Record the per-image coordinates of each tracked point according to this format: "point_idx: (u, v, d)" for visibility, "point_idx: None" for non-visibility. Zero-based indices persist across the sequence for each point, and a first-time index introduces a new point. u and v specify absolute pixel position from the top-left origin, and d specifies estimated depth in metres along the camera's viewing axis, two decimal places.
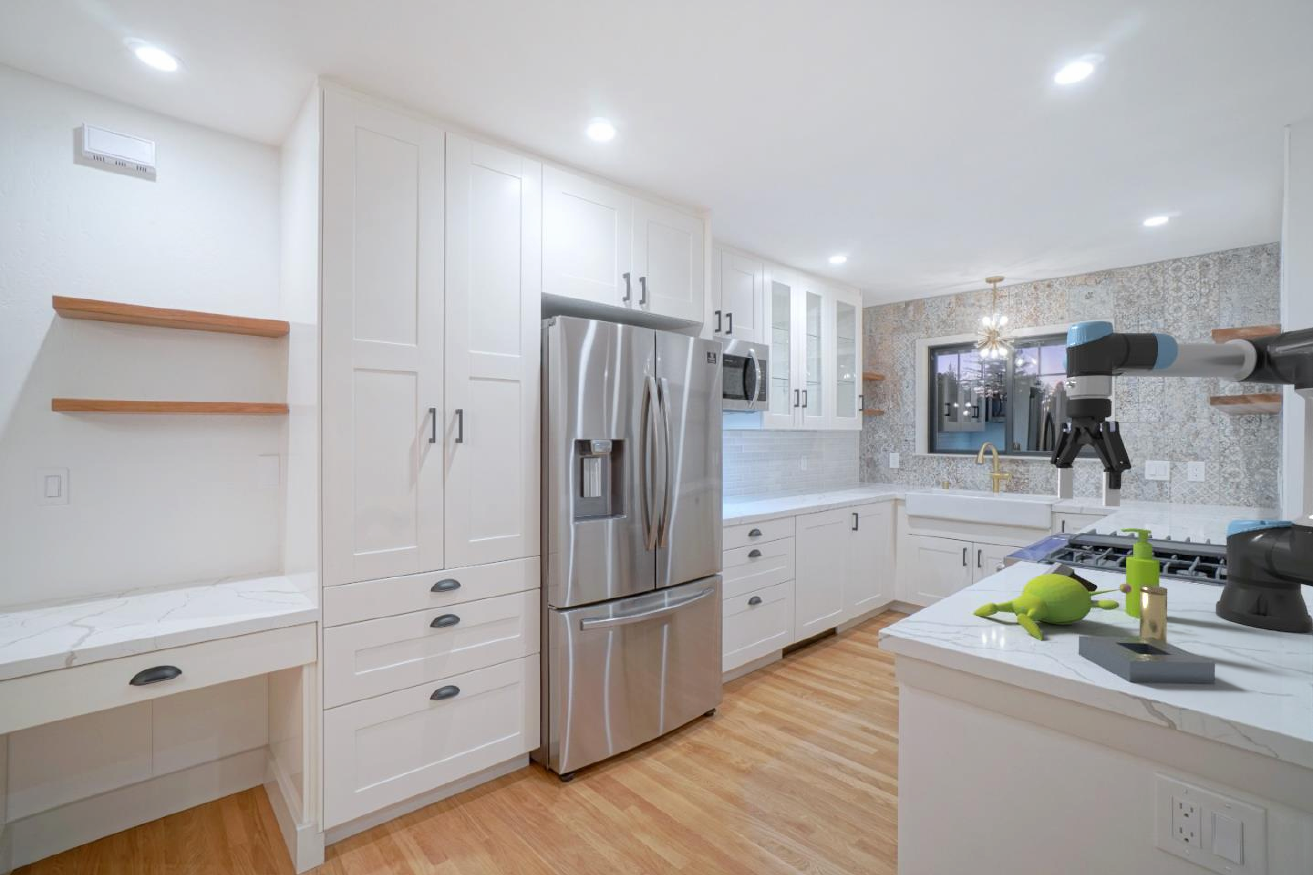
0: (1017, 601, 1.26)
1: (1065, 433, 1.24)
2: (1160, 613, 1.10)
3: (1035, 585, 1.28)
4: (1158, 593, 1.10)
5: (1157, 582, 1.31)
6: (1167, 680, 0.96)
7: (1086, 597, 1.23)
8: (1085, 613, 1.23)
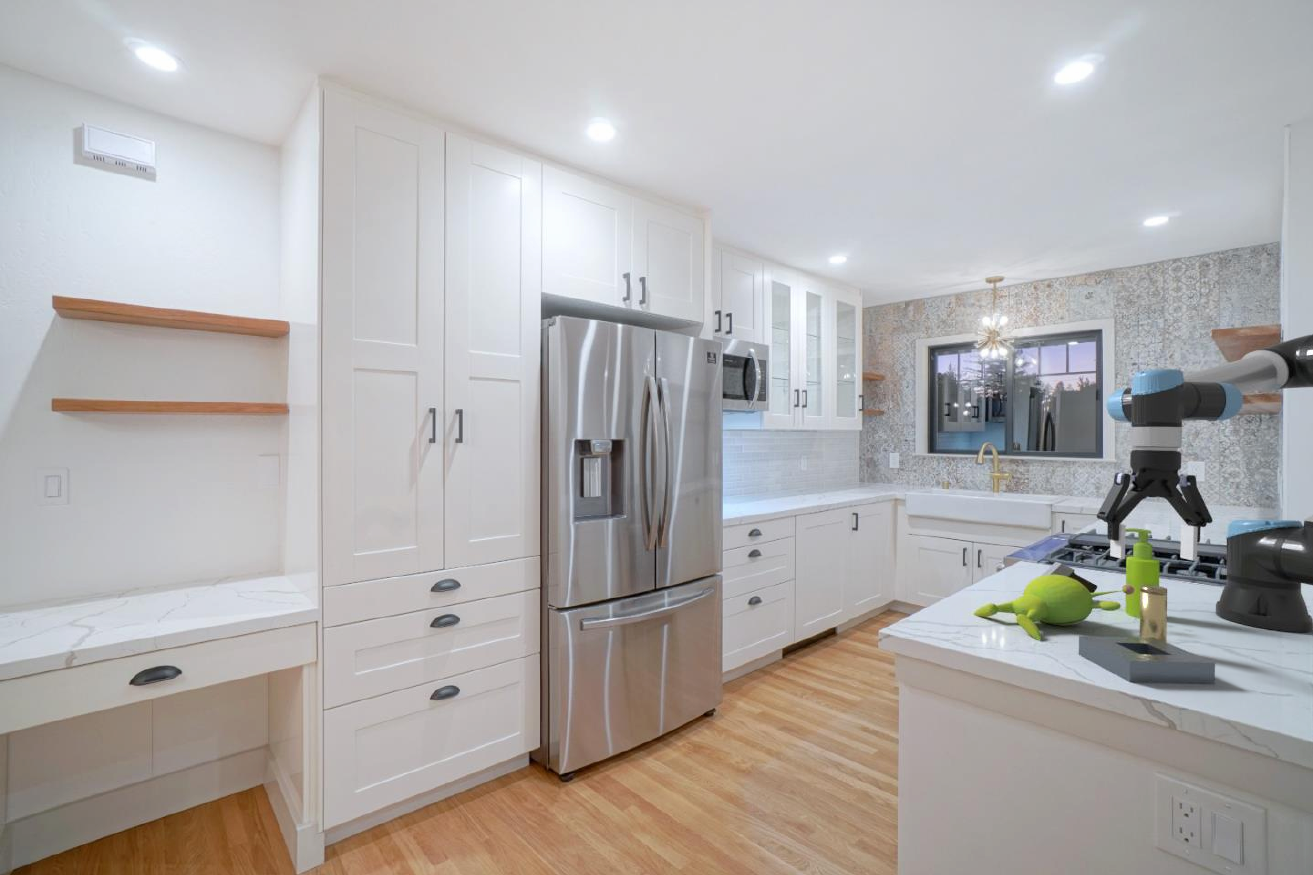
0: (1018, 601, 1.26)
1: (1181, 486, 1.13)
2: (1160, 613, 1.10)
3: (1036, 586, 1.27)
4: (1158, 593, 1.10)
5: (1157, 582, 1.31)
6: (1167, 680, 0.96)
7: (1087, 598, 1.22)
8: (1086, 614, 1.22)
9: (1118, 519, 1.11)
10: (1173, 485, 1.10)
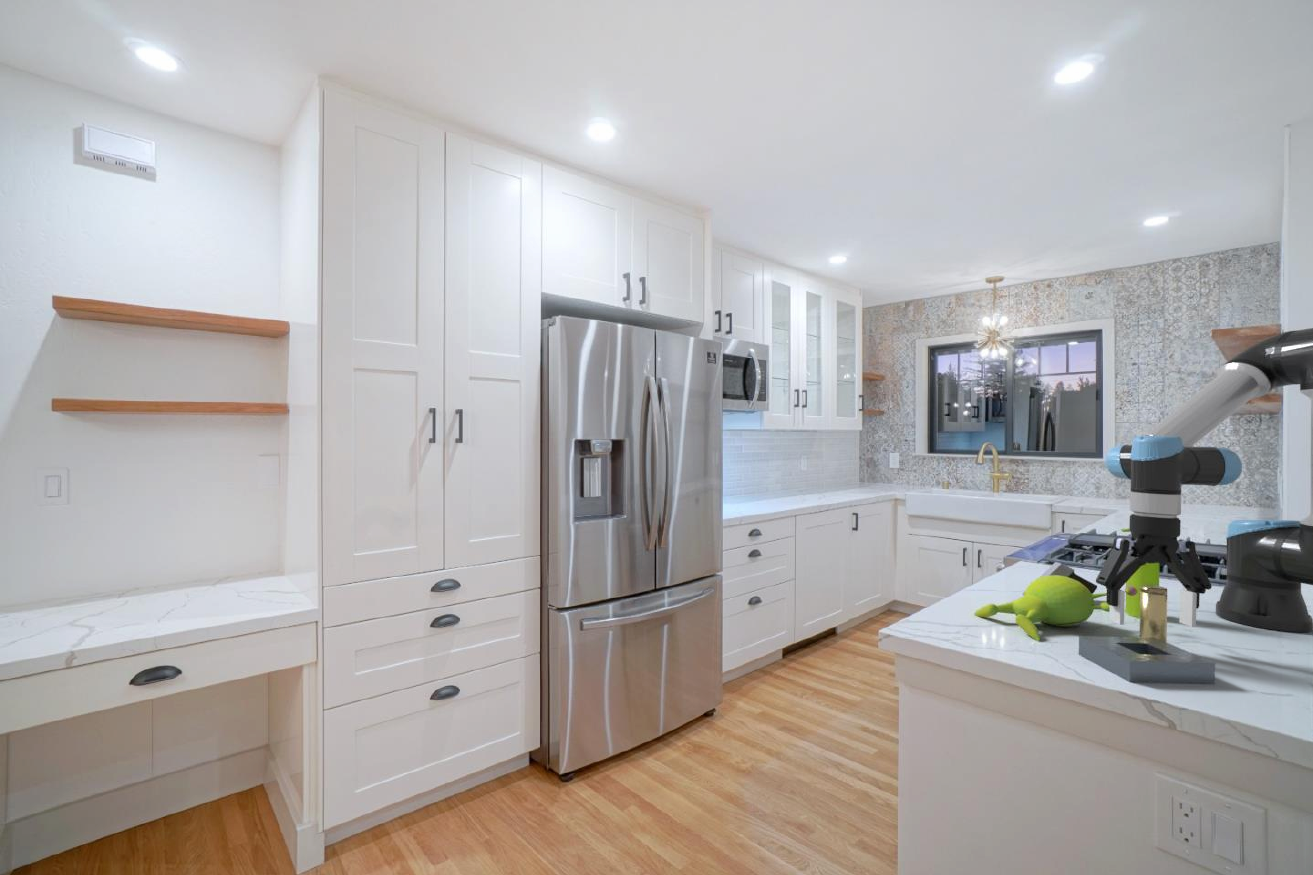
0: (1018, 602, 1.26)
1: (1180, 551, 1.13)
2: (1160, 613, 1.10)
3: (1037, 586, 1.27)
4: (1158, 593, 1.10)
5: (1157, 582, 1.31)
6: (1167, 680, 0.96)
7: (1088, 599, 1.21)
8: (1087, 615, 1.21)
9: (1117, 585, 1.11)
10: (1172, 552, 1.10)
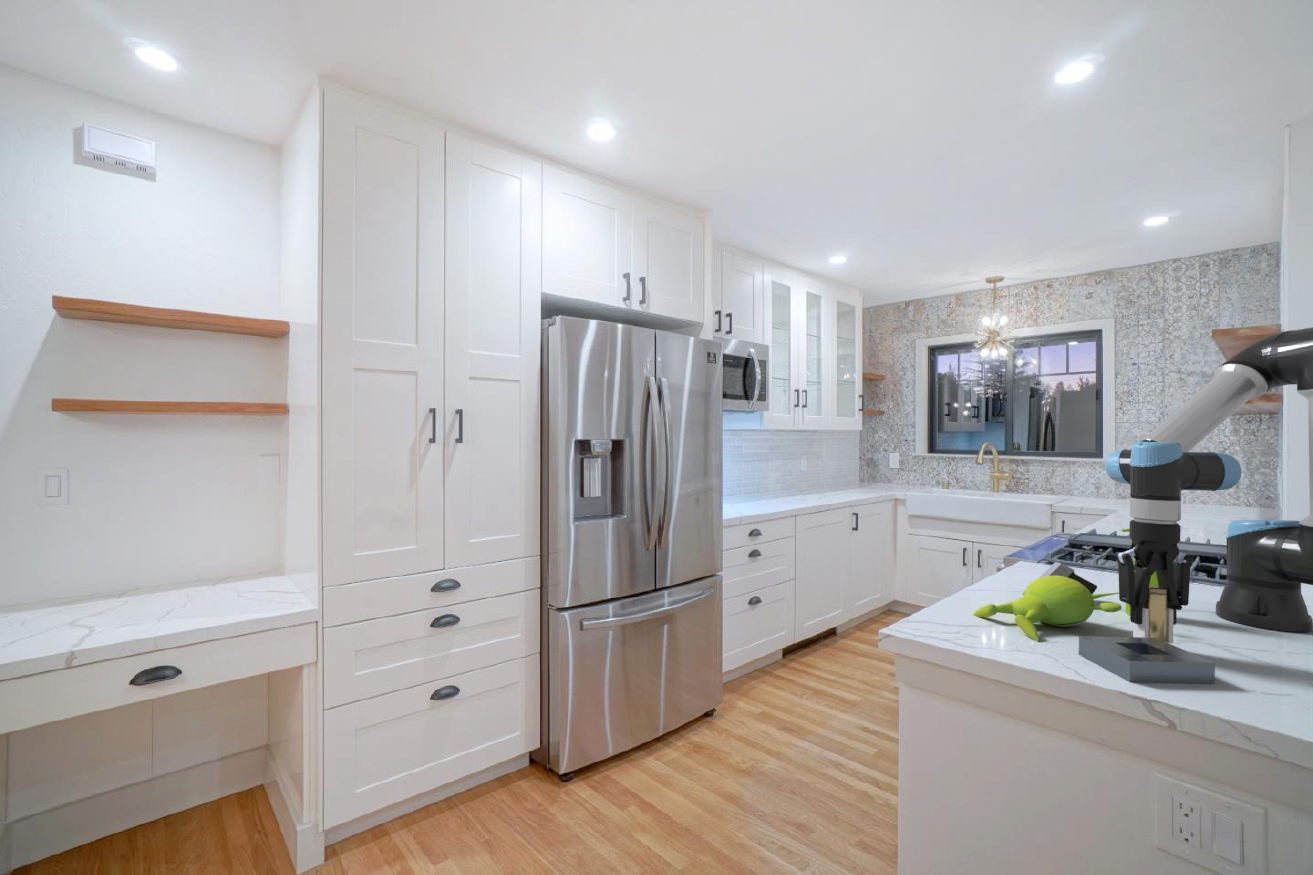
0: (1017, 602, 1.25)
1: (1175, 563, 1.13)
2: (1160, 613, 1.10)
3: (1036, 586, 1.26)
4: (1158, 593, 1.10)
5: (1157, 582, 1.31)
6: (1167, 680, 0.96)
7: (1087, 599, 1.21)
8: (1086, 615, 1.21)
9: (1140, 603, 1.11)
10: (1171, 559, 1.10)
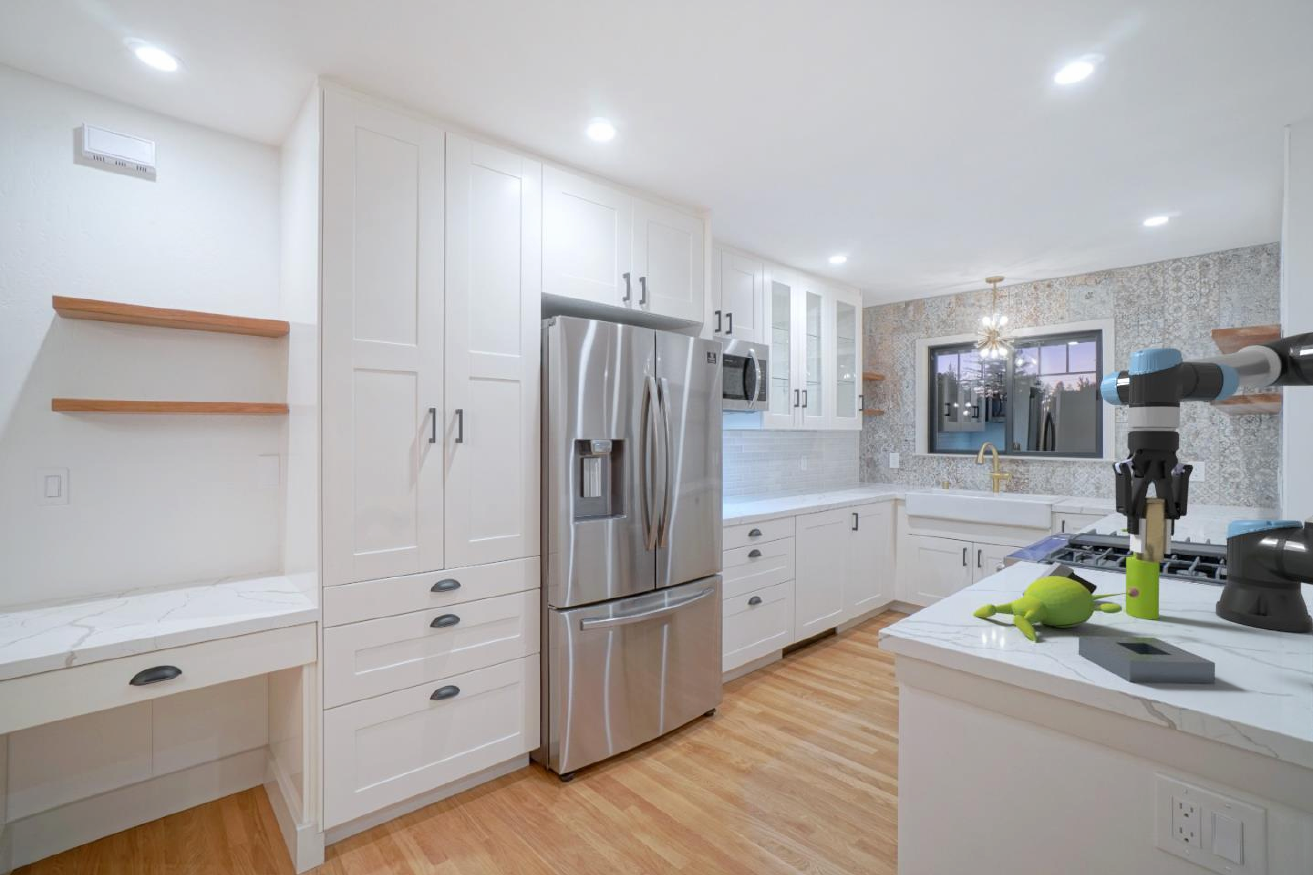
0: (1016, 603, 1.25)
1: (1174, 474, 1.11)
2: (1157, 522, 1.08)
3: (1036, 587, 1.26)
4: (1156, 502, 1.08)
5: (1157, 582, 1.31)
6: (1167, 680, 0.96)
7: (1087, 600, 1.20)
8: (1086, 616, 1.20)
9: (1137, 513, 1.09)
10: (1169, 468, 1.08)
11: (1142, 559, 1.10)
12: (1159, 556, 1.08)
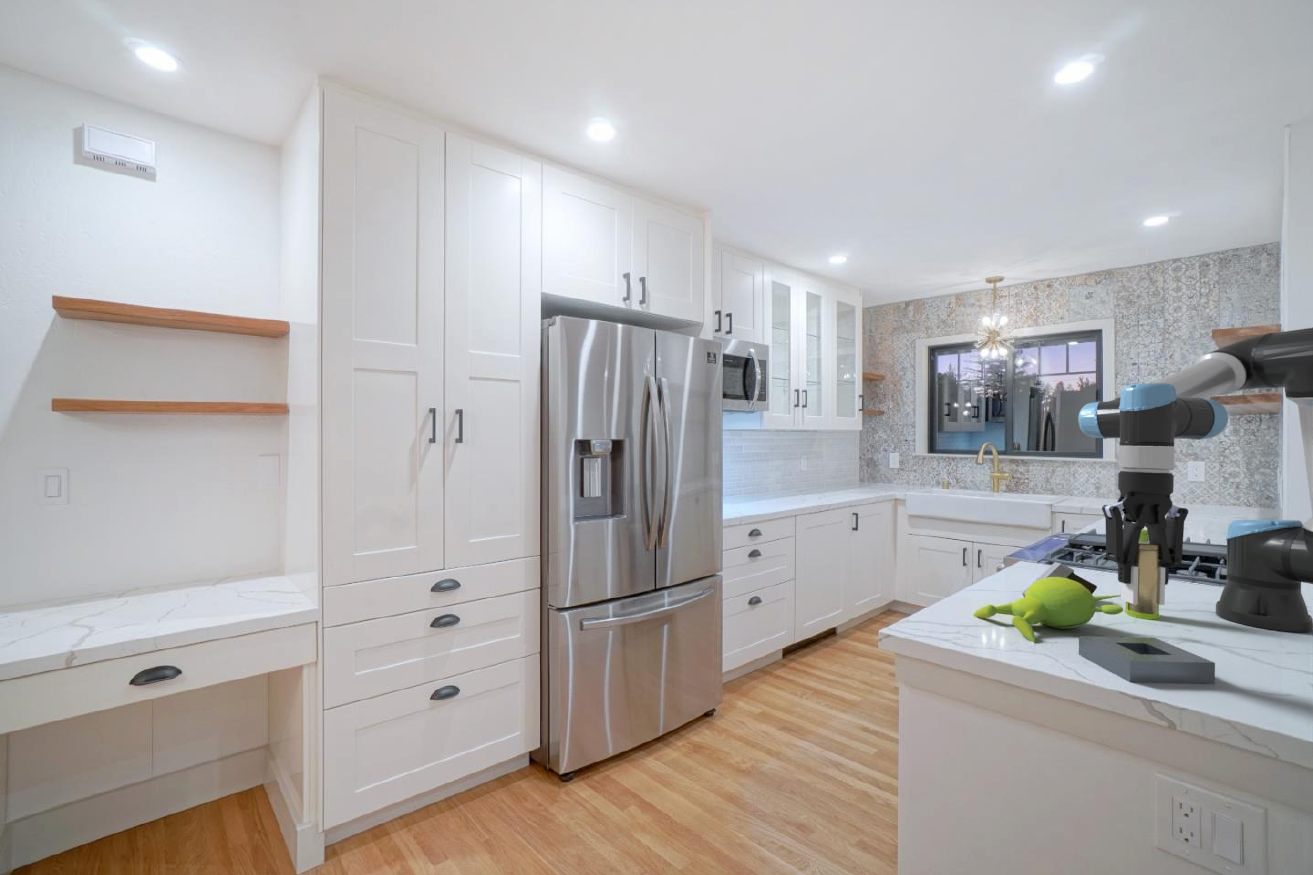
0: (1016, 603, 1.25)
1: (1168, 517, 1.03)
2: (1150, 570, 1.00)
3: (1036, 588, 1.25)
4: (1148, 549, 1.01)
5: None
6: (1167, 680, 0.96)
7: (1088, 601, 1.20)
8: (1087, 617, 1.19)
9: (1129, 561, 1.01)
10: (1163, 512, 1.00)
11: (1134, 610, 1.02)
12: (1152, 607, 1.00)
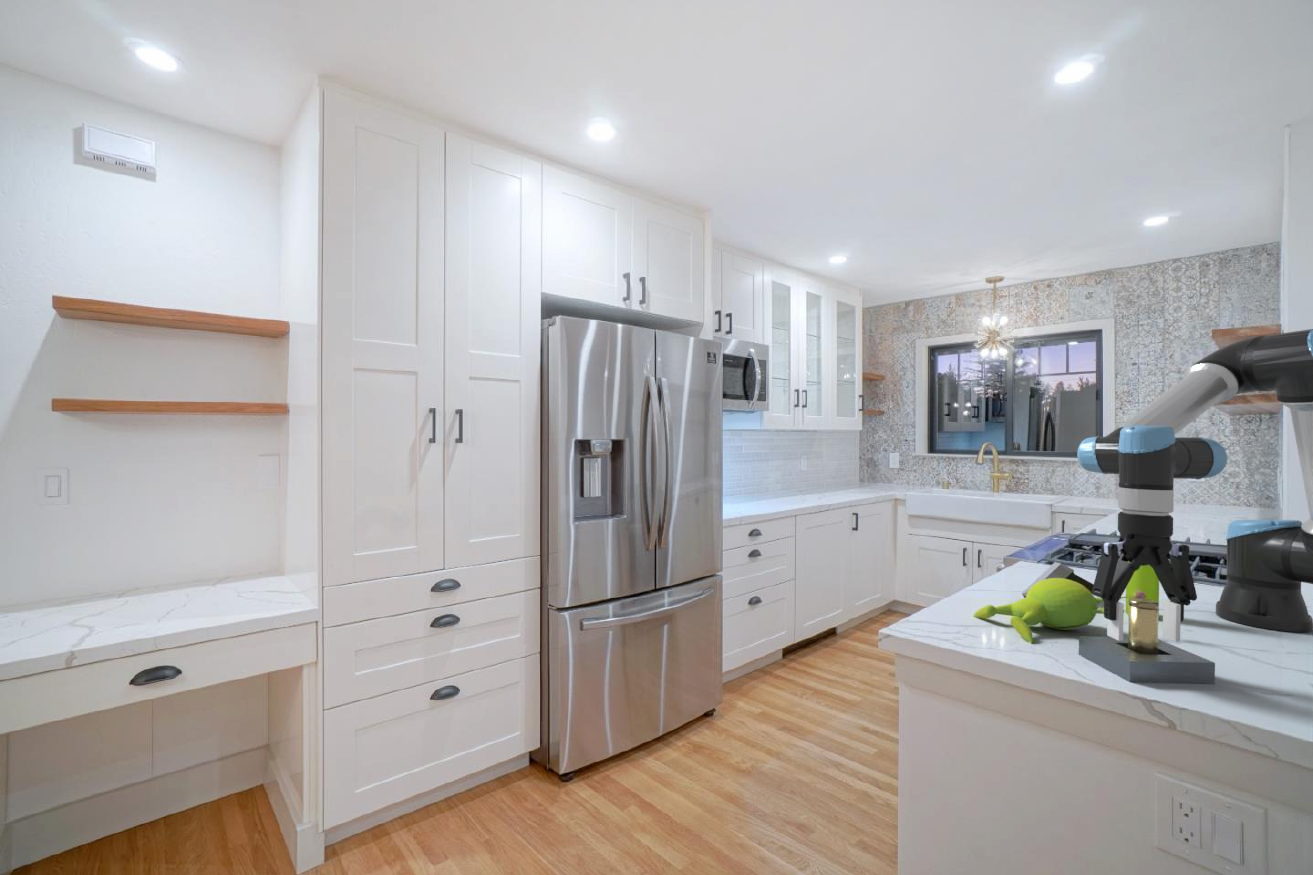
0: (1016, 604, 1.24)
1: (1171, 555, 1.03)
2: (1150, 629, 1.01)
3: (1037, 588, 1.25)
4: (1148, 608, 1.01)
5: (1157, 582, 1.31)
6: (1167, 680, 0.96)
7: (1089, 602, 1.19)
8: (1087, 619, 1.18)
9: (1115, 597, 1.01)
10: (1164, 553, 1.00)
11: None
12: None
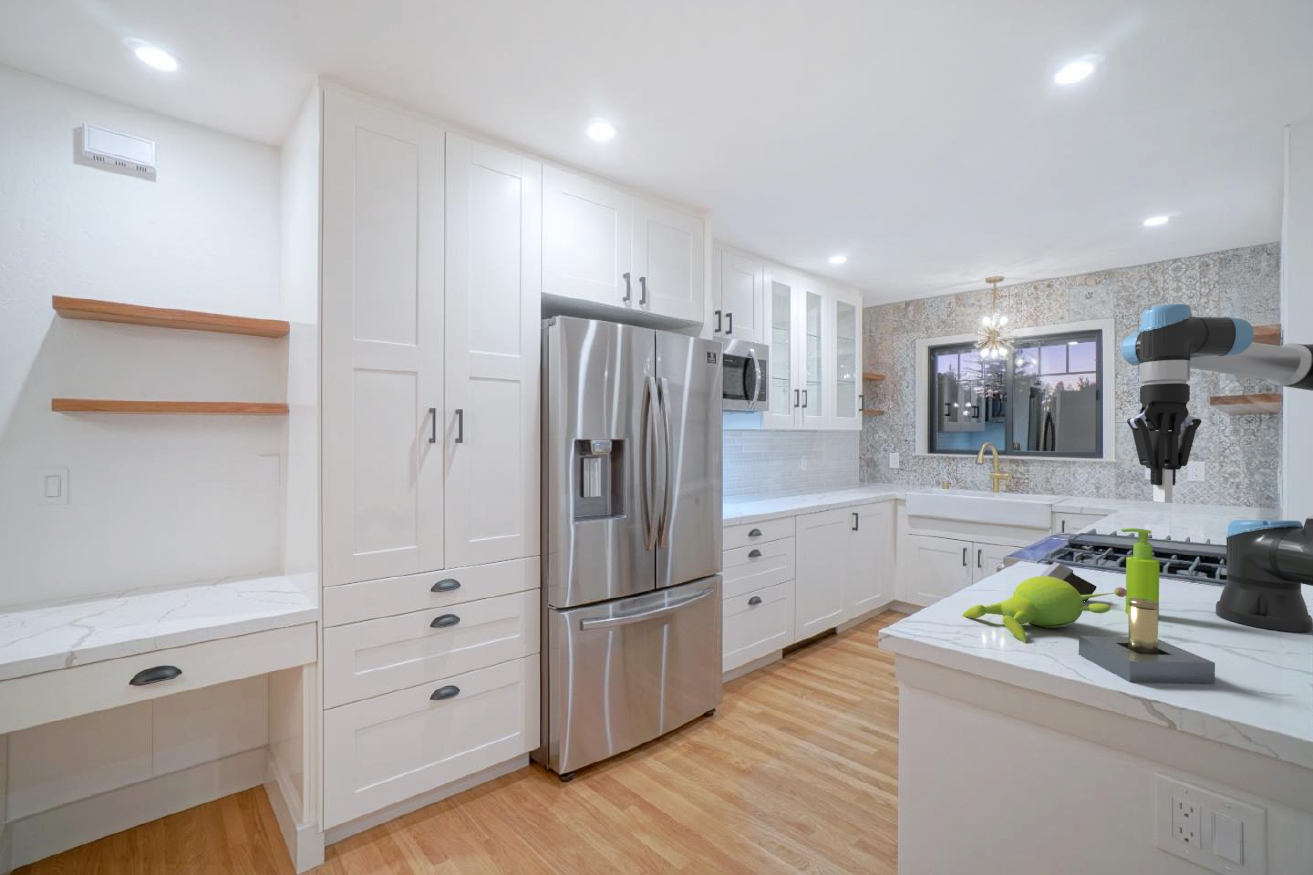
0: (1006, 603, 1.25)
1: (1182, 427, 1.16)
2: (1150, 629, 1.01)
3: (1025, 587, 1.26)
4: (1148, 608, 1.01)
5: (1157, 582, 1.31)
6: (1167, 680, 0.96)
7: (1076, 600, 1.20)
8: (1075, 616, 1.20)
9: (1160, 464, 1.14)
10: (1180, 419, 1.13)
11: None
12: None
